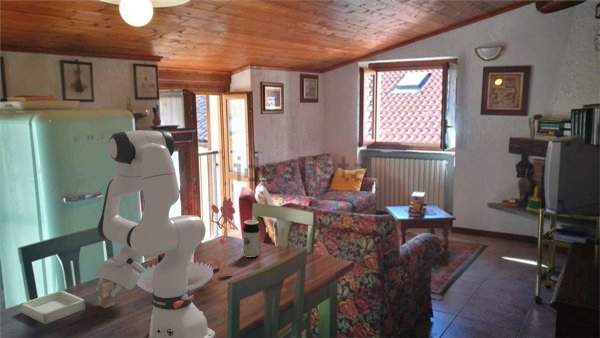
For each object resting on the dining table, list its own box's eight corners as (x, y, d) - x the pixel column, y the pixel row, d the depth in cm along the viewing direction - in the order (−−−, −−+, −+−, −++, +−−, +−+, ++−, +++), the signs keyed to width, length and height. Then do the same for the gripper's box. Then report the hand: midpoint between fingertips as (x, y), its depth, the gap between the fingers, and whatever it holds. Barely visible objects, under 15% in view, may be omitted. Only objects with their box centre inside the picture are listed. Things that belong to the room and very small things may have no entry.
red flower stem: (225, 283, 195) (227, 203, 191) (201, 266, 216) (202, 193, 212) (256, 277, 204) (258, 200, 200) (231, 261, 225) (232, 191, 221)
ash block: (114, 304, 173) (113, 281, 172) (105, 308, 170) (104, 285, 168) (108, 301, 175) (107, 279, 174) (98, 305, 172) (97, 282, 170)
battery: (162, 270, 209) (162, 249, 208) (157, 266, 215) (157, 246, 213) (171, 268, 212) (171, 248, 210) (167, 264, 217) (166, 244, 216)
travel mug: (252, 252, 238) (253, 219, 235) (262, 256, 232) (262, 222, 229) (240, 255, 232) (240, 221, 230) (249, 259, 227) (249, 224, 224)
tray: (85, 308, 168) (85, 300, 168) (45, 324, 156) (44, 314, 155) (62, 298, 177) (61, 290, 177) (21, 312, 165) (20, 303, 164)
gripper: (104, 252, 181) (82, 283, 175) (137, 262, 170) (115, 296, 164) (114, 260, 186) (93, 290, 179) (147, 270, 175) (126, 303, 168)
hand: (104, 293), depth 171 cm, fingers open, 6 cm apart
